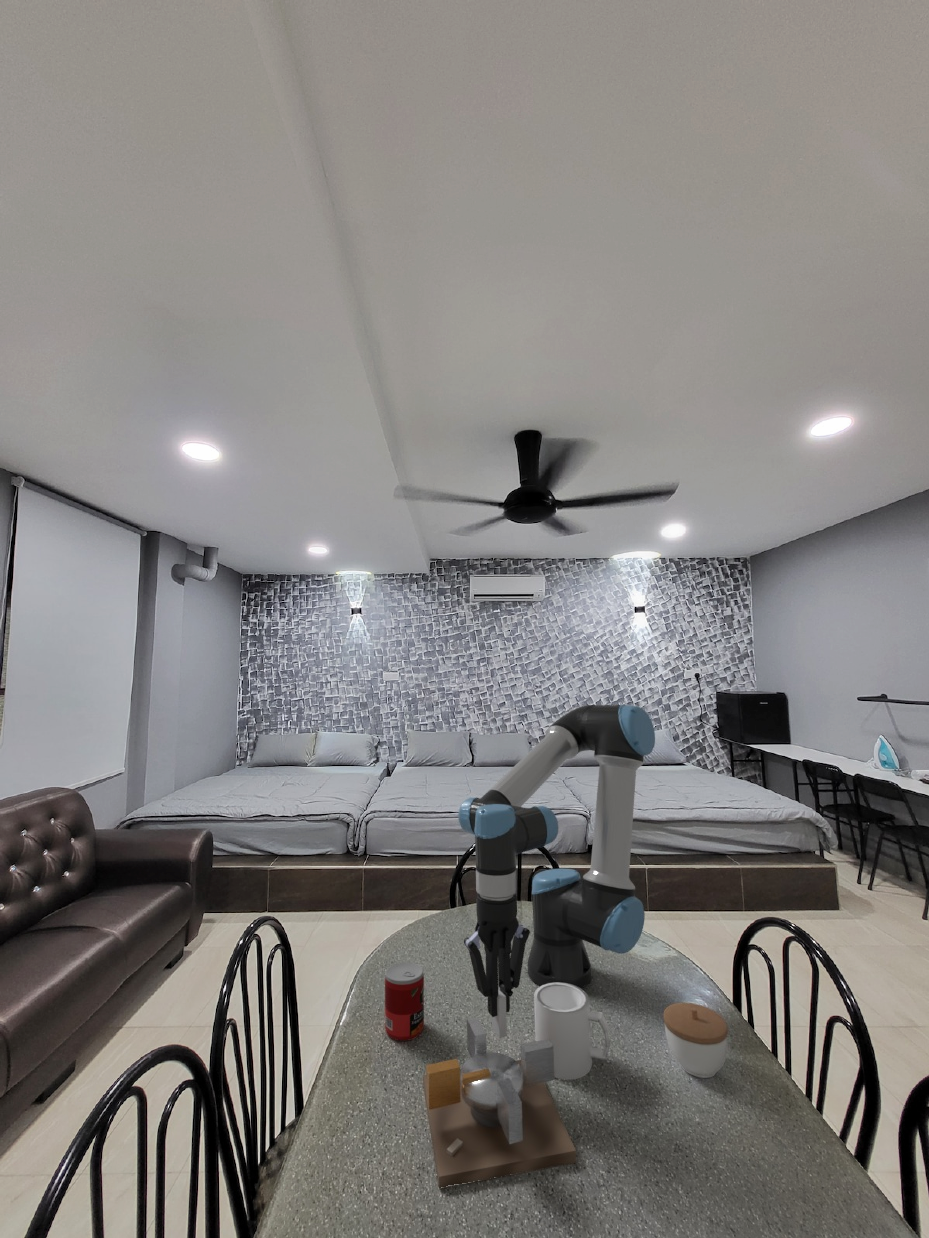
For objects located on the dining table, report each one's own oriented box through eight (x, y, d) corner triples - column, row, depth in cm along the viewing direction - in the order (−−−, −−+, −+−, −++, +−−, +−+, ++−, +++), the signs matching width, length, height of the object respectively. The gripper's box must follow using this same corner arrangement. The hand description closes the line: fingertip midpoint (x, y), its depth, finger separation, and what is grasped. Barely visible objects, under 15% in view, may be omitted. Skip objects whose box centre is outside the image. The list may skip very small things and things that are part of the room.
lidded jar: (726, 1052, 99) (722, 998, 100) (735, 1093, 89) (730, 1032, 90) (665, 1041, 103) (662, 988, 104) (666, 1079, 93) (663, 1021, 94)
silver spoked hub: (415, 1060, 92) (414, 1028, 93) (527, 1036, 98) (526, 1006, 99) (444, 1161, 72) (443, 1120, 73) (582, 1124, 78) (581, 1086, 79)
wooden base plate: (533, 1066, 96) (532, 1042, 97) (576, 1161, 77) (575, 1131, 77) (423, 1084, 93) (422, 1059, 93) (439, 1188, 73) (438, 1156, 74)
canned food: (418, 1043, 103) (417, 982, 105) (379, 1039, 105) (379, 978, 106) (428, 1019, 111) (428, 963, 112) (392, 1016, 112) (392, 959, 114)
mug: (612, 1050, 100) (609, 989, 102) (609, 1088, 91) (606, 1020, 92) (540, 1037, 105) (538, 978, 106) (531, 1073, 95) (529, 1008, 96)
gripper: (516, 881, 105) (519, 1011, 102) (456, 892, 99) (457, 1031, 96) (537, 893, 98) (541, 1033, 95) (474, 907, 92) (476, 1056, 89)
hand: (499, 1032), depth 95 cm, fingers closed
